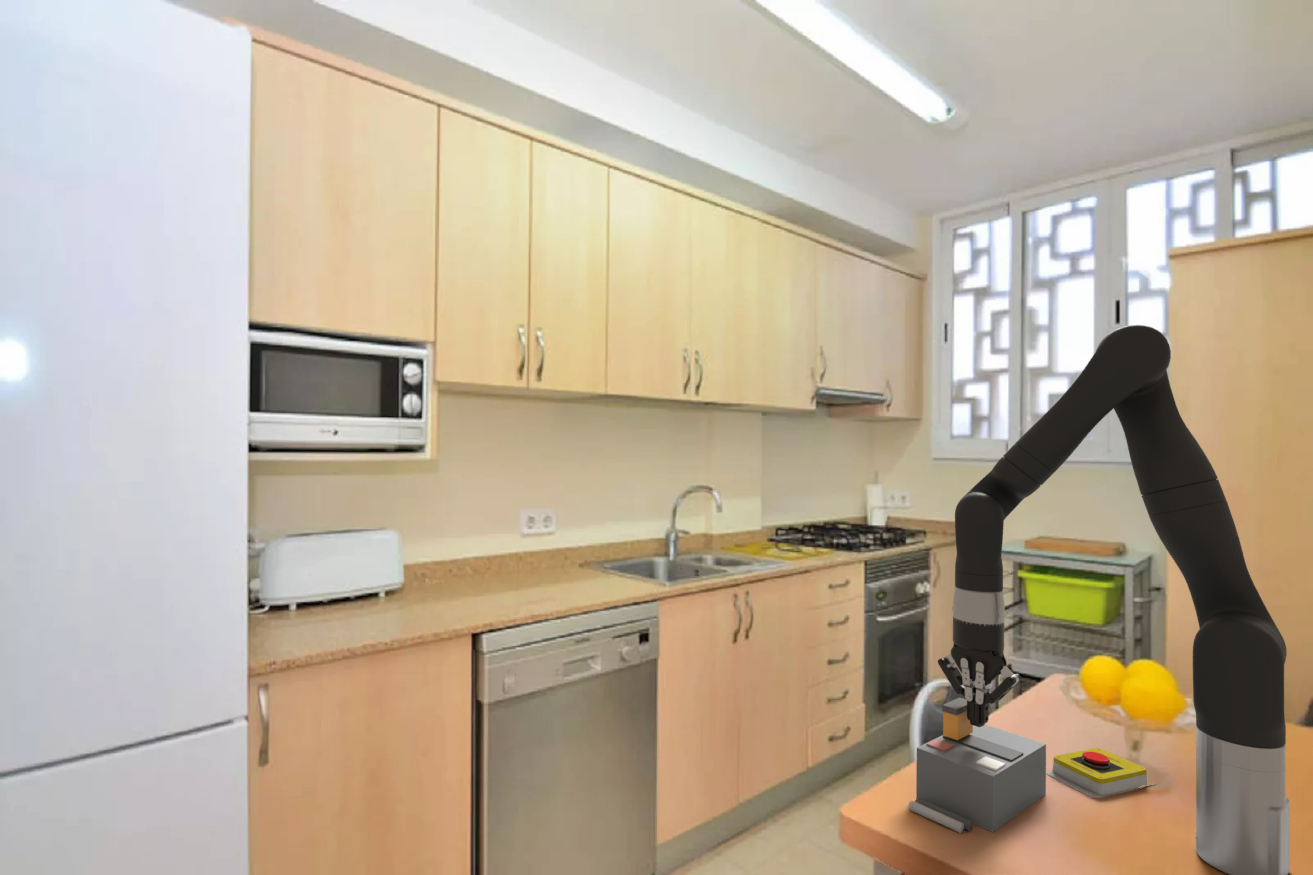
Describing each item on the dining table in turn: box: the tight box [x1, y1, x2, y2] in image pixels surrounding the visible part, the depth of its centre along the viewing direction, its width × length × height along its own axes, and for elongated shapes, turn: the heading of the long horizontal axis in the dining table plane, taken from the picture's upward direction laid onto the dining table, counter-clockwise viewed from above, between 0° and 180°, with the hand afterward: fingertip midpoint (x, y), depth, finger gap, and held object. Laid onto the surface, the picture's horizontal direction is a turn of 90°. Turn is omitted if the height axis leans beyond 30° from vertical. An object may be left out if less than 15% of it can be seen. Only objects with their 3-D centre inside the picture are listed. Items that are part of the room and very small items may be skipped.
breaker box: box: [915, 724, 1047, 833], centre depth 110 cm, size 12×18×8 cm, turn 129°
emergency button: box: [1046, 747, 1148, 799], centre depth 116 cm, size 9×4×15 cm
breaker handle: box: [941, 697, 973, 740], centre depth 113 cm, size 2×6×5 cm, turn 129°
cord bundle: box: [907, 799, 974, 834], centre depth 102 cm, size 9×3×1 cm, turn 39°
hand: (977, 724), depth 110 cm, fingers closed
